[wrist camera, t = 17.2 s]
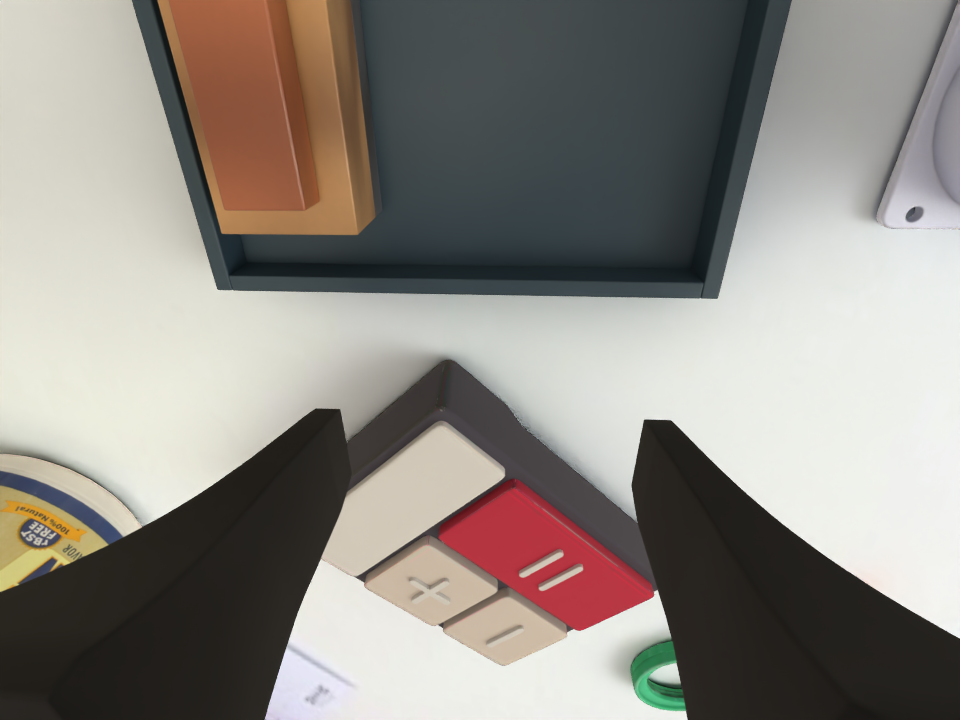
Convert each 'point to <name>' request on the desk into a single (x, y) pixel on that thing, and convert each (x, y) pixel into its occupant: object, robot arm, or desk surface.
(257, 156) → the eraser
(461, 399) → the calculator
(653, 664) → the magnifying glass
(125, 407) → the desk surface
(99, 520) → the supplement tub
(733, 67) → the tray
